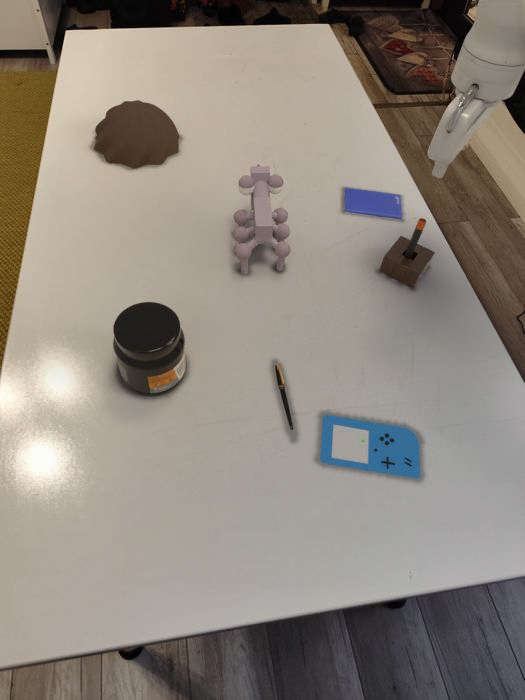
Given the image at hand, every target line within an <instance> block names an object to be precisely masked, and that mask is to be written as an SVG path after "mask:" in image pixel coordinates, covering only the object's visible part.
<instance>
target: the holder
mask: <svg viewBox="0 0 525 700" xmlns="http://www.w3.org/2000/svg"><path fill="white" fill-rule="evenodd" d="M410 240H411V239H409V238H407V237H405V236H403V235H400V236H398V238H397V240H396V241H394V243H393V245H392V246H391V247H390V248H389V250H388V251H387V252H386V253H385V254H384V256H383V259H382V261H381V264H380V267H379V269H378V272H379V273H380V274H383V275H385V276H386V277H389V278H390V279H392V280H395V281H397V282H398V283H400V284H402V285H404V286H405V287H408V288H410V289H412V290H413V289H414V288H415V287H416V286H417V284H418V282H419V281H420V280H421V279H422V277H423V275H425V273H426V271H427V270H428V268H429V267H430V264H431V262H432V260H433V259H434V256H435V254H436V251H434V250H432V249H430V248H429V247H428V248H427V247H425V246H423V245H421V244H419V243H417V245H416V248H415V250H414V252H413V255H412V257H411V259H409V258H407V257H405V256H404V254H405V252H406V249H407V247H408V245H409V242H410Z"/></svg>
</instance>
